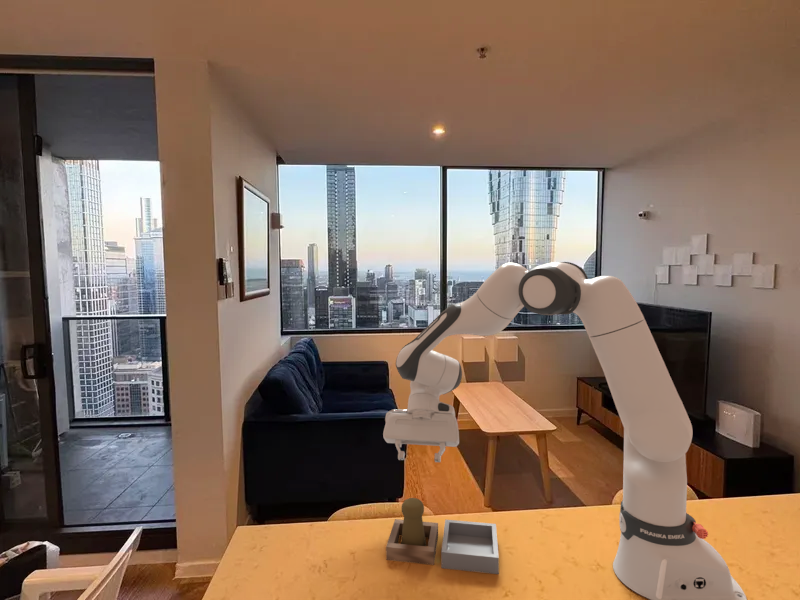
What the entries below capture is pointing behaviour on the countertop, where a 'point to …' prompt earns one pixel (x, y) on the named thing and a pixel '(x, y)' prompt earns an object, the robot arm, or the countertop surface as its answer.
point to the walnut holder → (412, 551)
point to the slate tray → (470, 547)
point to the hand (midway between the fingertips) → (419, 460)
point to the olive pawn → (413, 522)
